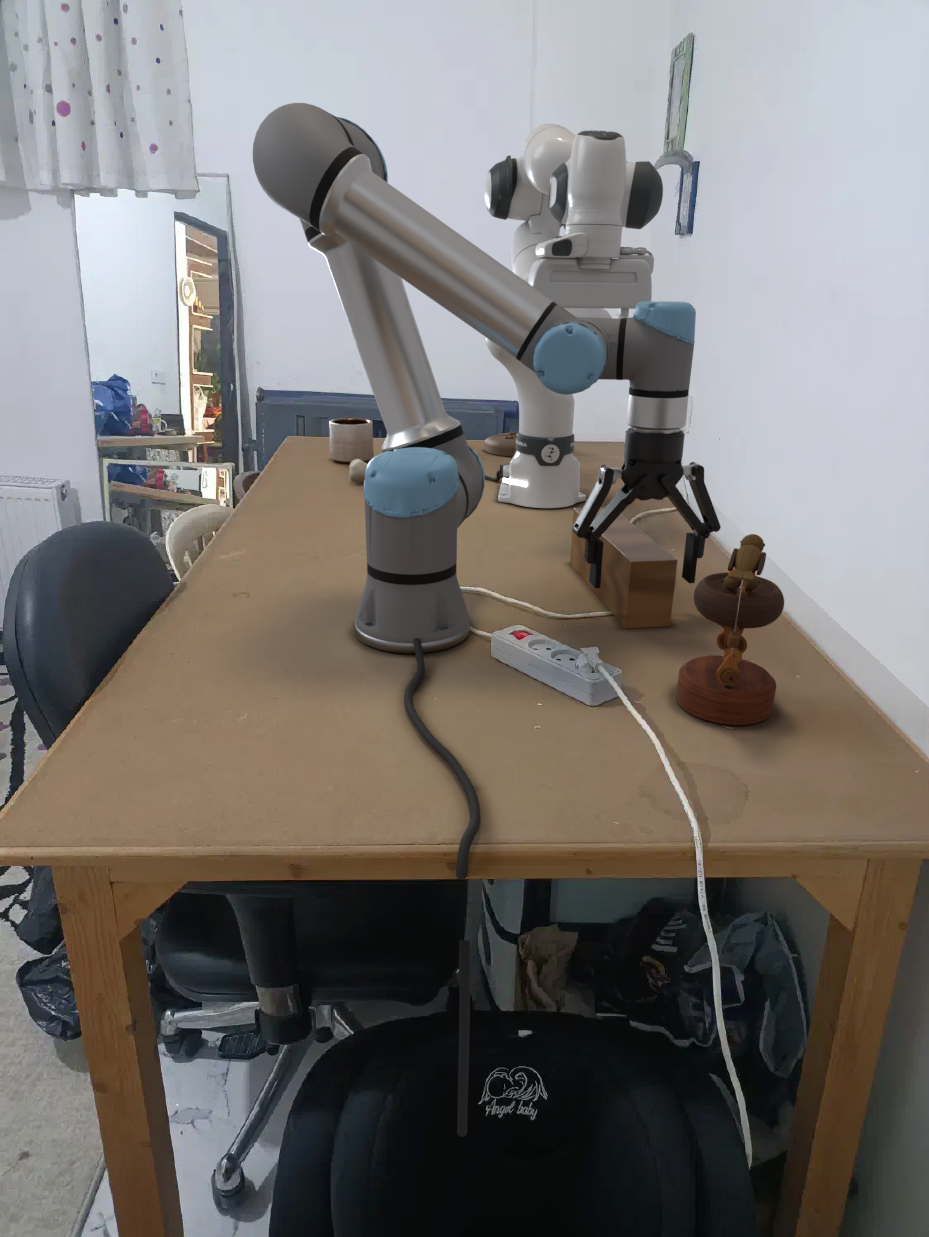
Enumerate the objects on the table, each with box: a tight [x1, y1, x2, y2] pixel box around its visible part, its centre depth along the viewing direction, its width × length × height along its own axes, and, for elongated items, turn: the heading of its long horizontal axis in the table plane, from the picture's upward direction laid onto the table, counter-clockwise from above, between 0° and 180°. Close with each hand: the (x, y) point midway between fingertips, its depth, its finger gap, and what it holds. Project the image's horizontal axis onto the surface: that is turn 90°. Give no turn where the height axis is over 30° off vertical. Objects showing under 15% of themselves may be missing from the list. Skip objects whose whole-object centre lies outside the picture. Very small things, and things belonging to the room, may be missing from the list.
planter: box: [328, 417, 375, 464], centre depth 212 cm, size 11×11×10 cm
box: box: [569, 506, 678, 629], centre depth 126 cm, size 28×6×10 cm, turn 9°
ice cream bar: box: [483, 431, 518, 457], centre depth 222 cm, size 21×28×4 cm
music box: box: [675, 533, 785, 726], centre depth 92 cm, size 15×11×20 cm
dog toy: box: [348, 459, 368, 483], centre depth 192 cm, size 20×6×5 cm, turn 99°
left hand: (641, 582), depth 118 cm, fingers open, 13 cm apart
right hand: (586, 338), depth 139 cm, fingers open, 8 cm apart
